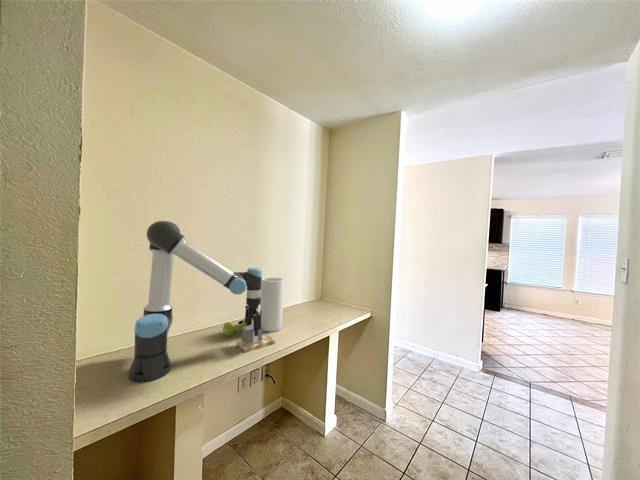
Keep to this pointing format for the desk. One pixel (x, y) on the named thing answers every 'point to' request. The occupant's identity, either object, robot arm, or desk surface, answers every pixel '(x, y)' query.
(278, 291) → the vase
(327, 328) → the desk surface
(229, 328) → the dumbbell
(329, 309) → the desk surface
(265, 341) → the board
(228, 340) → the desk surface
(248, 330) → the block
